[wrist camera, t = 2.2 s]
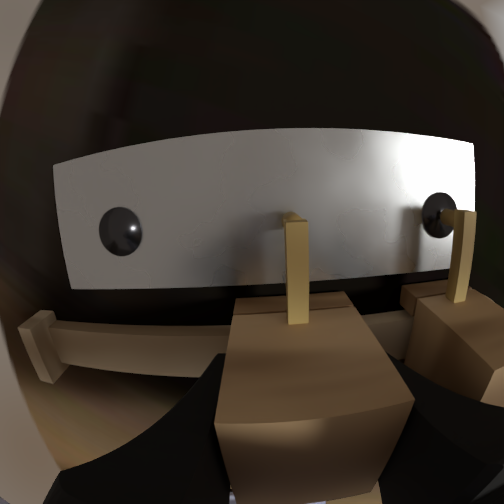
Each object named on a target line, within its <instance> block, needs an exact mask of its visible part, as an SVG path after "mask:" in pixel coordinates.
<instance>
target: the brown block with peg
mask: <svg viewBox="0 0 504 504" xmlns="http://www.w3.org/2000/svg"><path fill="white" fill-rule="evenodd" d="M281 222H282V226H283V228H284V240H285V269H286V296H272V297H253V298H236V301H235V306H234V312H233V318H232V323H231V329H230V335H229V340H228V346H227V352H226V357H225V363H224V369H223V375H222V380H221V386H220V392H219V398H218V404H217V409H216V415H215V421H214V425H215V429H216V433H217V437H218V441H219V445H220V449H221V452H222V456H223V460H224V463H225V467H226V471H227V474H228V477H229V481H230V484H231V488H232V491H233V494H234V497H235V501H236V504H308V503H316V502H323V501H329V500H335V499H341V498H346V497H351V496H356V495H360V494H364V493H368V492H371V490H372V489H373V487H374V485H375V484H376V482H377V480H378V478H379V477H380V475H381V473H382V471H383V469H384V468H385V466H386V464H387V462H388V460H389V458H390V456H391V454H392V452H393V450H394V448H395V446H396V444H397V442H398V439H399V437H400V435H401V433H402V431H403V428H404V426H405V424H406V421H407V419H408V416H409V414H410V411H411V409H412V406H413V404H414V401H415V398H414V397H413V395H412V393H411V392H410V390H409V389H408V387H407V385H406V384H405V382H404V381H403V379H402V377H401V376H400V374H399V373H398V371H397V369H396V368H395V366H394V365H393V363H392V362H391V360H390V359H389V357H388V355H387V354H386V352H385V351H384V349H383V348H382V346H381V345H380V343H379V342H378V340H377V339H376V337H375V336H374V334H373V333H372V331H371V330H370V328H369V327H368V325H367V324H366V322H365V321H364V319H363V318H362V317H361V315H360V314H359V312H358V311H357V309H356V308H355V307H353V304H352V302H351V301H350V299H349V298H348V296H347V295H346V294H345V292H344V291H341V292H329V293H316V294H309V234H308V221H307V220H306V219H305V218H301V217H300V216H299V215H298V214H297V213H295V212H287V213H285V214H284V215H283V217H282V220H281Z"/></svg>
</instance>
